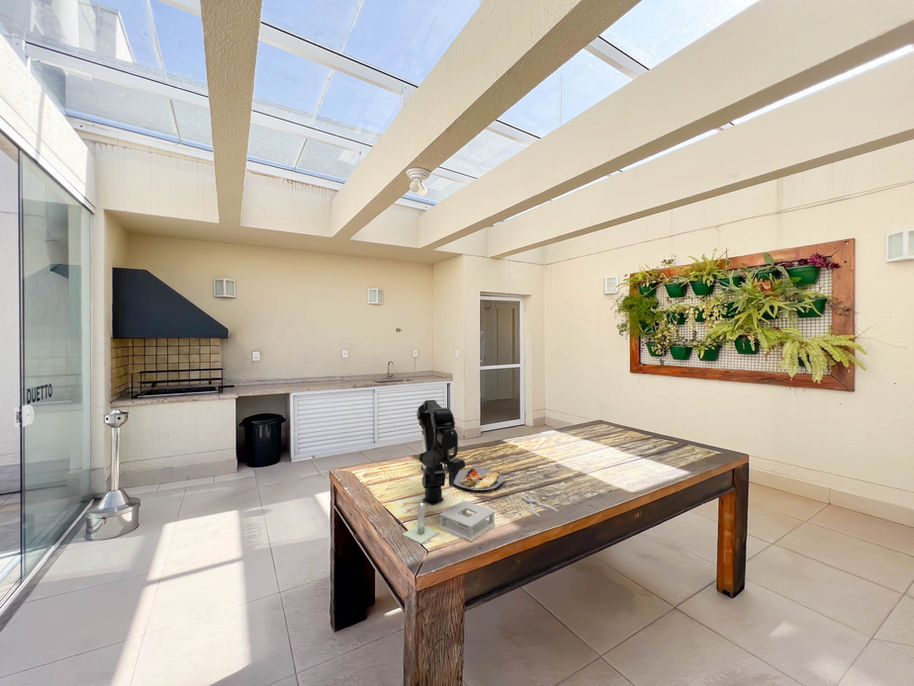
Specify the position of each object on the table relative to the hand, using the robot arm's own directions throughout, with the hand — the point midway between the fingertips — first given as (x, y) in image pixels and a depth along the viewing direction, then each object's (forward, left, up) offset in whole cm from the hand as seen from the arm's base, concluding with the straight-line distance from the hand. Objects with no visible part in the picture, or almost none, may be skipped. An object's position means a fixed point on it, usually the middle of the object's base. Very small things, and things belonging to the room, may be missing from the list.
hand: (441, 483), depth 139 cm
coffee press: (-34, +34, -12) cm, 50 cm away
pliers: (+25, +29, -13) cm, 40 cm away
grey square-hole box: (+13, -1, -12) cm, 18 cm away
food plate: (-8, +35, -13) cm, 38 cm away
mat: (+4, -15, -12) cm, 20 cm away
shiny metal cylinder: (+4, -15, -12) cm, 19 cm away
